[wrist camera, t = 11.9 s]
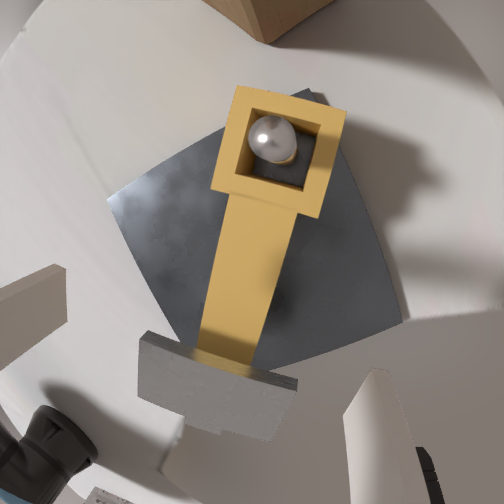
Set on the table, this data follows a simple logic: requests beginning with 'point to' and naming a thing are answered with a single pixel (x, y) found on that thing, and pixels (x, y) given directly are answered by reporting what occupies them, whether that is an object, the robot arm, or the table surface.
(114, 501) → the cassette
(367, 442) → the robot arm
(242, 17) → the wooden block
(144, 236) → the base
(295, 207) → the link
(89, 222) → the table surface
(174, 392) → the block
